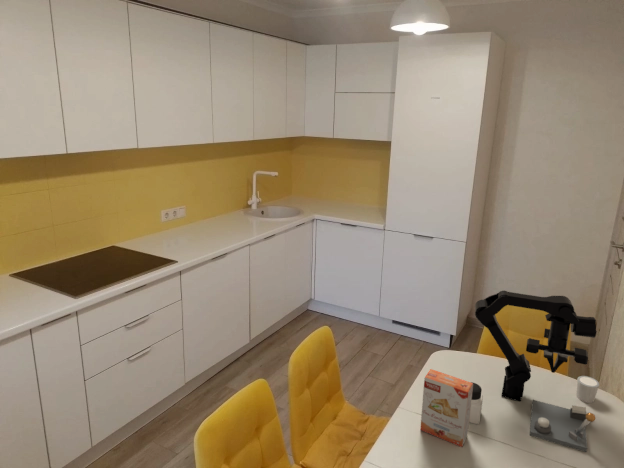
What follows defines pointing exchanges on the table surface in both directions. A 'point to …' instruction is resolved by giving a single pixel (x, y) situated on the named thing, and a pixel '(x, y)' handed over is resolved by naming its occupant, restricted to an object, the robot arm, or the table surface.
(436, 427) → the cracker box
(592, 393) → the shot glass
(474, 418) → the medicine bottle
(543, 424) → the push button
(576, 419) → the switch panel
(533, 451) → the table surface
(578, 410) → the rocker switch
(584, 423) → the toggle lever
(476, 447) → the table surface
